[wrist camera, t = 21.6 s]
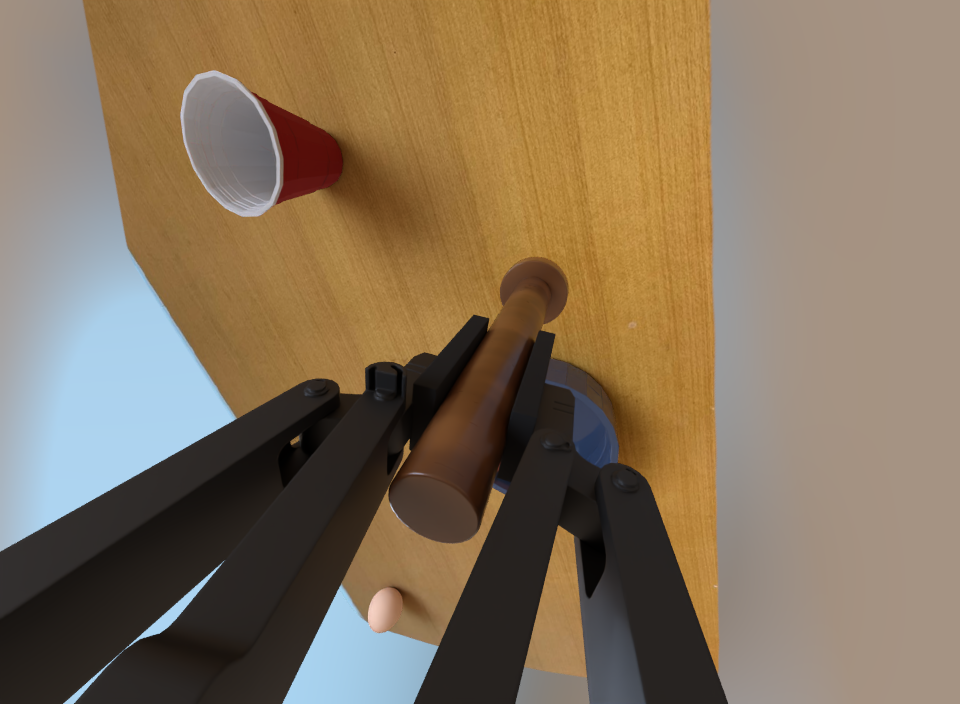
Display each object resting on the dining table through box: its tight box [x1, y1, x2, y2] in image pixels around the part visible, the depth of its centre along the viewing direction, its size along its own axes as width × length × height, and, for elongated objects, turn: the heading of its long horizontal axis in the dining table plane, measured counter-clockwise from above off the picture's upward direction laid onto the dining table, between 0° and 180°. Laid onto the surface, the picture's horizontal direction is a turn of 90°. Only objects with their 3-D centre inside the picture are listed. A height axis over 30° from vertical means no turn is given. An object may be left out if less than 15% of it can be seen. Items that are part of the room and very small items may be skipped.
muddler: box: [388, 257, 568, 543], centre depth 16 cm, size 4×4×18 cm
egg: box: [368, 587, 403, 633], centre depth 71 cm, size 7×7×8 cm
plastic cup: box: [180, 70, 343, 217], centre depth 35 cm, size 11×11×12 cm
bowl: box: [493, 358, 619, 495], centre depth 44 cm, size 19×19×6 cm
